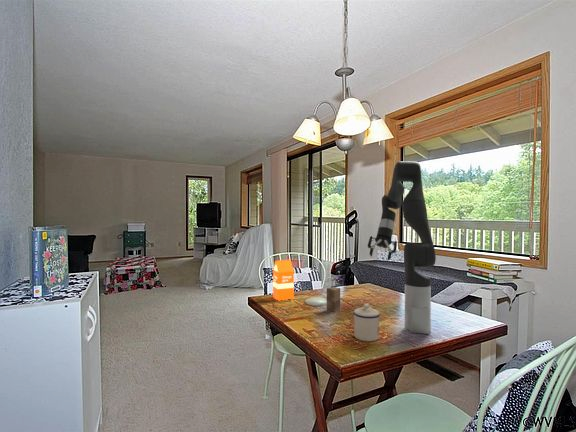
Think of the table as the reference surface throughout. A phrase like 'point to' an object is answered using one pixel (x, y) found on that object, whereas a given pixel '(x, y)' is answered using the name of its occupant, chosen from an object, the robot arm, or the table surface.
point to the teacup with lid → (366, 323)
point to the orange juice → (283, 280)
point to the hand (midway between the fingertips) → (379, 258)
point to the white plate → (316, 301)
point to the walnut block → (333, 299)
